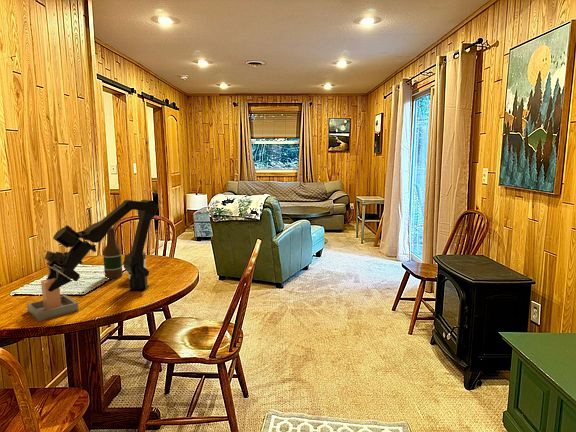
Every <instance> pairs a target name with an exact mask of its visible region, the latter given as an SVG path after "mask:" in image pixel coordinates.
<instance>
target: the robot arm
mask: <svg viewBox="0 0 576 432" xmlns="http://www.w3.org/2000/svg"><path fill="white" fill-rule="evenodd" d="M158 207H159V206H158V204H157V202H156V201H154V200H152V199H151V200H150V199H142V200H131V199H125V200H124V201H123V202H122V203H121V204H119V205H118V206H116V208H114V209H113V210H112V211H111V212H110V213H108V214H107V215H106V216H104V217H103V218H102V219H101V220H99V221H97V222H94V223H92V224H90V225H89V226H87V227H86V228H84V229H83V230H81V231H76V230H74V229H73V228H72V227H70V226H69V225H67V224H66V225H65V226H64V227H62V228H60V229H59V230H57V231H56V232H55V234H54V235H53V237H52V238H53V240H54V241H55V242H57V243H58V244H60V245H61V246H63V247H65V248H66V249H68V248H70V249H69V250H68V251H64V252H60V251H50V250H47V251H46V253H45V256H44V260H46V261H47V262H46V265H47V268H48V275H47V277H46V279H45V280H48V279H52V278H55V280H54V282H53V283H52V285H51V286H50V288H49V289H48V291H50V292H51V291H53V290H55V289H57V288H59V287H60V288H61V287H62V286H64V285H67V284H69V283H70V282H73V281H74V282H78V280H79V279H80V277H81V276H80V273H78V272H77V271H76V270H75V269H76V268H77V267H78V265H79V264H80V265H82V264H83V261H82V260H84V258H85V257H86V256H87V255H88V254H89V252H90V251H92V252H93V253H96V252H97V247H96V245H97V244H96V243H99V242H101V241H102V240H103V239H104V238H105V237H107V232H108V230H109V229H110V228H111V227H113V226H115V225H116V224H117V223H118V222H119V221H120V220H121V219H122V218H124V217H125V216H126V215H127V214H129V213H130V212H131V211H132V210H135V211H137V215H138V222H137V225H136V231H135V234H134V237H133V243H132V246H131V250H130V252H129V253H130V254H129V255H127V254H124V259H123V261H122V265H123V268H124V270H125V271H126V272H127V273H129V274H130V275H131V276H130V279H129V278H128V283H129V285H128V286H129V292H144V291H147V289H148V288H149V287H150V284H149V285H148V277H149V274H150V270H148V269H147V267H146V268H144V258H143V252H144V249H145V246H146V241H147V237H148V232H149V229H150V224H151V221H152V220H153V219H154V217H155V216H156V213H157V211H158ZM81 239H82V240H83V241H82V240H81ZM90 242H91V243H90ZM93 243H95V244H93ZM129 274H128V275H129Z"/></svg>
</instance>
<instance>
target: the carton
mask: <svg viewBox="0 0 576 432" xmlns="http://www.w3.org/2000/svg"><path fill="white" fill-rule="evenodd" d="M54 280H55V278H52V279H48V280H46V279H44V280H41V281H40V283H41V294H42V300H43V305H44V310H49V309H53V308H57V307H61V297H60V296H61V289H60V288H61V287H59V288H57V289H55V290H53V291H51V292H50V291H48V289H49V288H50V286H51V285H52V283H53V282H54Z"/></svg>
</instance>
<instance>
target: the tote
mask: <svg viewBox="0 0 576 432" xmlns="http://www.w3.org/2000/svg"><path fill="white" fill-rule="evenodd" d="M60 297H61V307H57V308H53V309H49V310H44V305H43V299H41V300H38V301H34V302H29V303H28V302H27V303H26V308H27V312H28V314H30V315H31V317H33V318H34V319H35V320H37V322H41V321H46V320H49V319H52V318H53V319H54V318H57V317H60V316H63V315H64V316H65V315H66V314H67V315H68V314H72V313H75V312H78V311H79V302H77V301H75V300H74V299H73V298H71V297H69V296H68V295H67V294H64V295H63V294H62V295H60ZM71 312H72V313H71ZM56 316H57V317H56Z"/></svg>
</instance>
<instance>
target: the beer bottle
mask: <svg viewBox="0 0 576 432" xmlns="http://www.w3.org/2000/svg"><path fill="white" fill-rule="evenodd" d="M115 230H116V228H115V227H113V226H112V227H111V228H110V229H109V230H108V232H107V234H106V246H105V247H104V249H103V252H102V253H103V254H102V255H103V257H102V258H103V268H104V278H105V277H107V278H109V279H108V280H116V279H120V278H122V277H123V261H122V260H123V259H122V250H121V248H120V246H119V245H118V244H117V241H116V233H115ZM107 278H106V279H107Z"/></svg>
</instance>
